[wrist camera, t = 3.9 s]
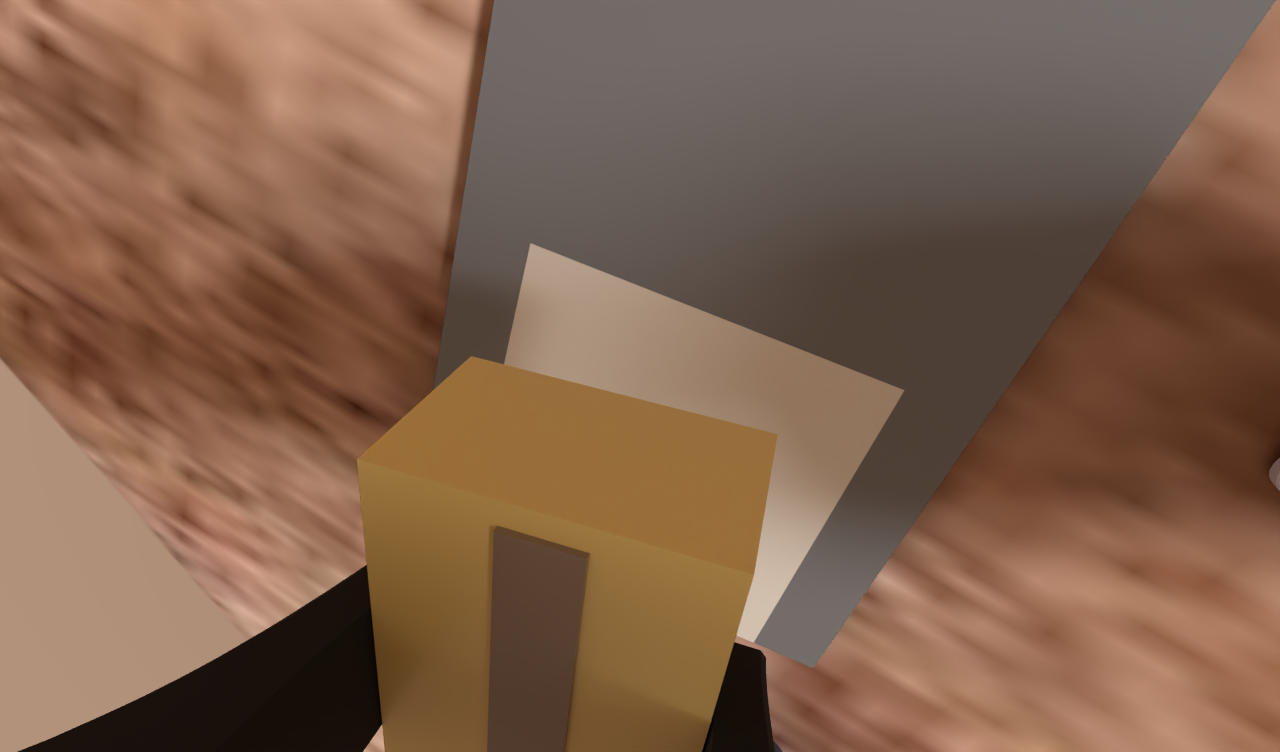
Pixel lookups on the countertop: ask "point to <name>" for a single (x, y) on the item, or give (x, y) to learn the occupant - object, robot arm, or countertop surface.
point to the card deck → (556, 565)
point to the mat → (813, 227)
